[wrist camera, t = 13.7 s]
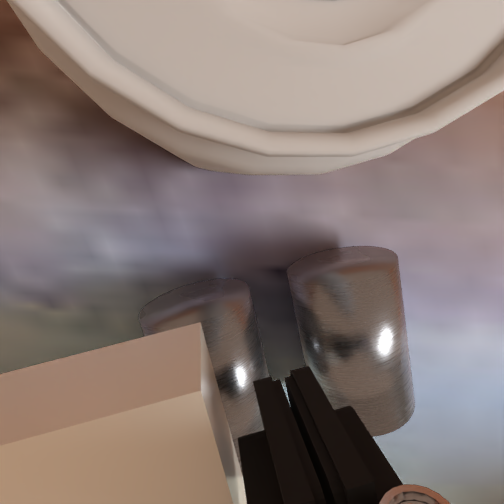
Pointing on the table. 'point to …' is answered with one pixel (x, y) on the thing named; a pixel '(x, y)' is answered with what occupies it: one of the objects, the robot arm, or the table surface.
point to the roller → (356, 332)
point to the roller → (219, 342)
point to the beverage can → (276, 73)
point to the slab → (119, 427)
